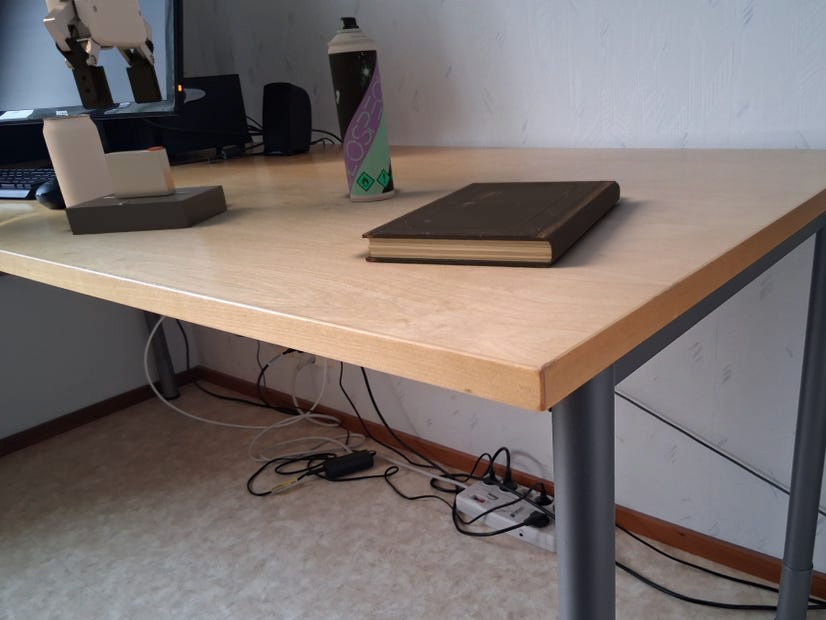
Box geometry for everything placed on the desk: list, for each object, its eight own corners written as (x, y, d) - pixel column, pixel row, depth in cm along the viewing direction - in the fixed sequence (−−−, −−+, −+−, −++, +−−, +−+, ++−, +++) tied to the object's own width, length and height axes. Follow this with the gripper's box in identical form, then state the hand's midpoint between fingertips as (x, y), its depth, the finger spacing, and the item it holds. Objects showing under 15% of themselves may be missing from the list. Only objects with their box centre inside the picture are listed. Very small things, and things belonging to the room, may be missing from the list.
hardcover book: (365, 261, 57) (361, 234, 56) (474, 204, 76) (472, 182, 75) (554, 268, 51) (553, 237, 50) (620, 203, 70) (620, 180, 69)
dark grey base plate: (70, 235, 78) (61, 207, 77) (124, 215, 88) (117, 190, 87) (187, 228, 76) (180, 199, 75) (228, 209, 86) (223, 183, 85)
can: (112, 200, 101) (87, 114, 97) (123, 204, 97) (98, 113, 92) (63, 208, 98) (34, 119, 93) (72, 213, 93) (43, 119, 88)
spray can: (343, 202, 84) (314, 19, 76) (360, 194, 89) (335, 20, 81) (385, 200, 82) (360, 13, 75) (401, 192, 87) (379, 15, 79)
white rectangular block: (116, 198, 81) (103, 152, 79) (125, 196, 82) (112, 150, 80) (168, 195, 80) (156, 148, 78) (176, 192, 81) (165, 146, 79)
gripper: (93, -56, 79) (137, 103, 85) (-22, -84, 63) (42, 114, 70) (155, -65, 78) (194, 98, 84) (53, -95, 62) (111, 107, 69)
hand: (125, 105), depth 77 cm, fingers open, 9 cm apart
